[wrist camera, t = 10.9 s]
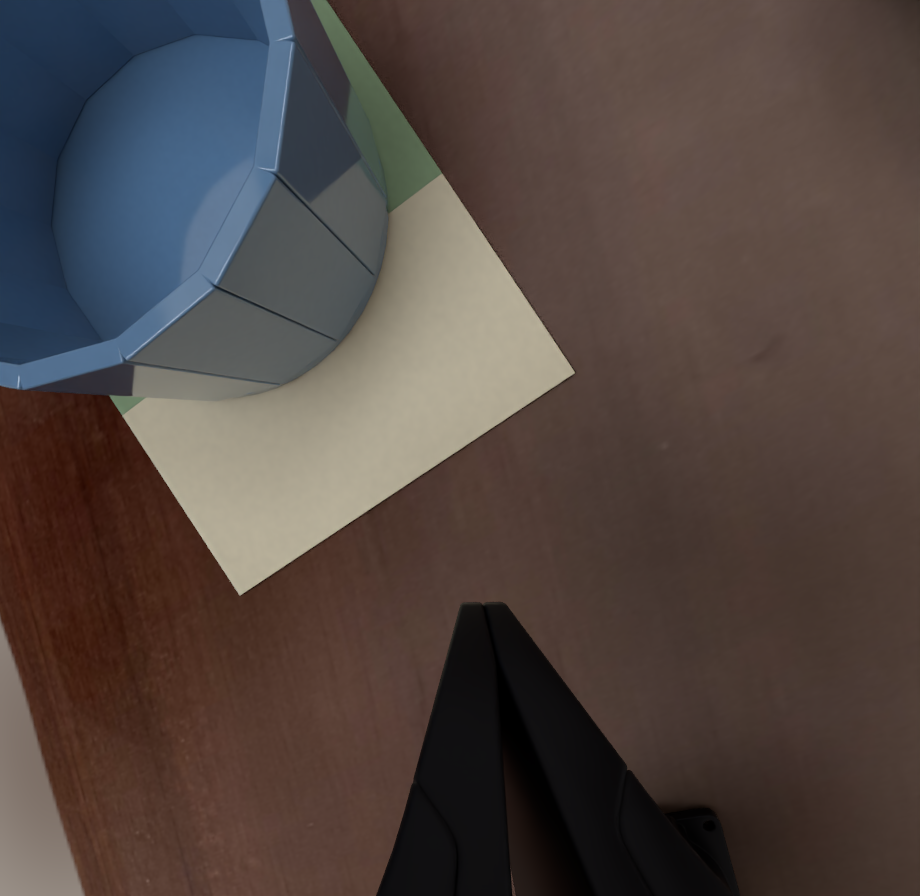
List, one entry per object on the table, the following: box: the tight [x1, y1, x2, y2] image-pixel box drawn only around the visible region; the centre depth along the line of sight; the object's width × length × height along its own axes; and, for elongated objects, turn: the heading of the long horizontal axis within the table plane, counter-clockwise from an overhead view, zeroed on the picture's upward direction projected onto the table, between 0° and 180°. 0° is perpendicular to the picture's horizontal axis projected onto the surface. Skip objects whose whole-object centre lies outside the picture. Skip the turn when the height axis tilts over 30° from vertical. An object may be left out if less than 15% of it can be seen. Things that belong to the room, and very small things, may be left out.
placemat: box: [109, 0, 575, 595], centre depth 22 cm, size 20×19×1 cm
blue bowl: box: [0, 0, 389, 401], centre depth 17 cm, size 16×16×10 cm
